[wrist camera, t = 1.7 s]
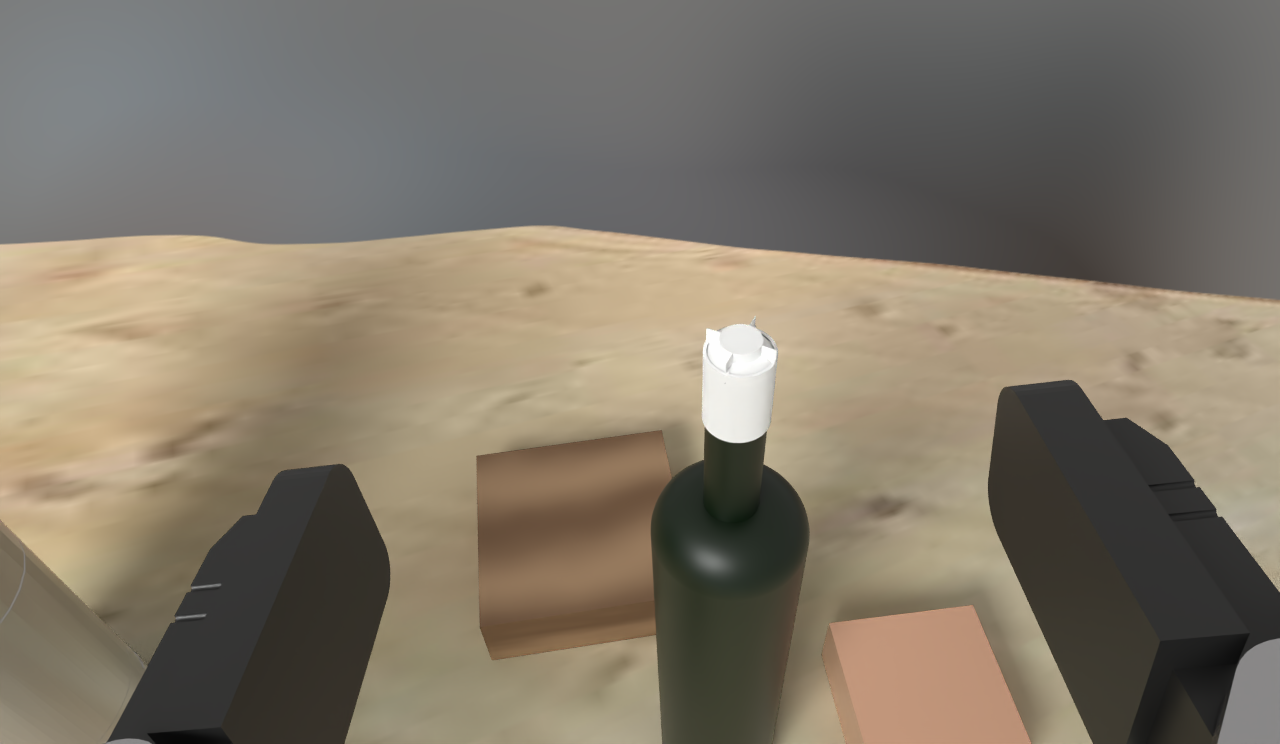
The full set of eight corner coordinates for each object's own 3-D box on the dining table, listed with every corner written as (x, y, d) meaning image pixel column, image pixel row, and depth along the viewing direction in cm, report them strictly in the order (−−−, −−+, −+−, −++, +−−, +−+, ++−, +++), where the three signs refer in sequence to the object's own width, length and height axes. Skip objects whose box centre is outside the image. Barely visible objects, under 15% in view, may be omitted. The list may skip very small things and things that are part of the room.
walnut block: (696, 628, 51) (696, 593, 48) (491, 660, 50) (479, 627, 47) (662, 467, 59) (661, 430, 56) (487, 492, 58) (476, 456, 55)
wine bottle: (786, 717, 47) (869, 305, 25) (745, 820, 44) (802, 443, 22) (690, 672, 49) (691, 255, 27) (643, 767, 46) (604, 374, 24)
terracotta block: (1013, 783, 45) (1036, 754, 42) (861, 804, 44) (873, 776, 41) (956, 639, 50) (973, 604, 47) (820, 656, 50) (829, 623, 47)
